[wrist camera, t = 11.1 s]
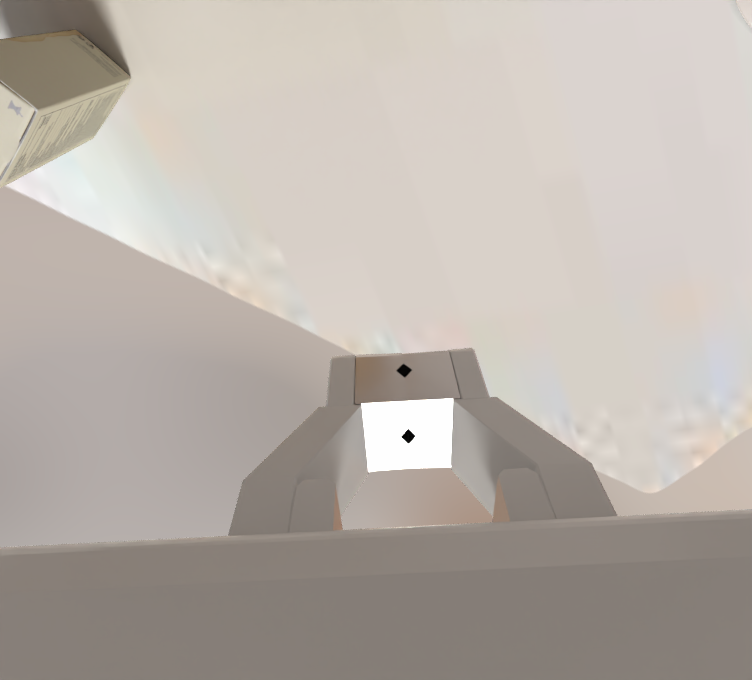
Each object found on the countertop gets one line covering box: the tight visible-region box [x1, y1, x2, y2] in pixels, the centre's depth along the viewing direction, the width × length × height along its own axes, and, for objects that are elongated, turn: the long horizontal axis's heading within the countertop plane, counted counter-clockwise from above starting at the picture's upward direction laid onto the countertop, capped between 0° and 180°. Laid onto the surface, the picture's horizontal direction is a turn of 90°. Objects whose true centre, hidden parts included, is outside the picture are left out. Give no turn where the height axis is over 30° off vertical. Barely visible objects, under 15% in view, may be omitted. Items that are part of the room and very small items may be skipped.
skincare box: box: [0, 30, 131, 188], centre depth 30 cm, size 6×4×12 cm
